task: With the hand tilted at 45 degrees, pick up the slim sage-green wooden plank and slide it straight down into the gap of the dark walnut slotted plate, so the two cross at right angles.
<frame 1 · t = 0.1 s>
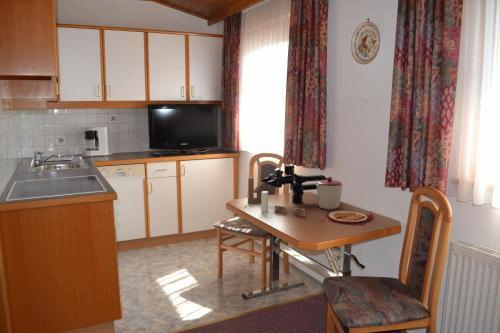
hand: (263, 181, 277), 17 cm above the table, tool horizontal, fingers open, 9 cm apart
plate with food: (347, 220, 245), on the table
sage plank: (264, 211, 263), on the table
canister: (328, 208, 272), on the table
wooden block: (255, 202, 288), on the table
walnut slotted plate: (289, 214, 255), on the table
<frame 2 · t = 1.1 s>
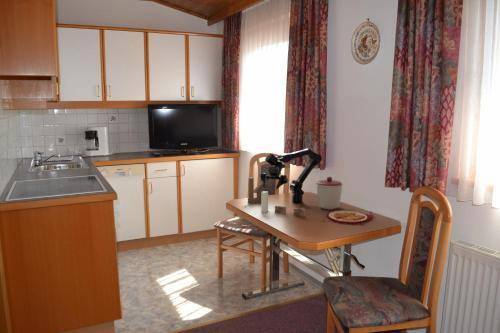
hand: (270, 188, 268), 14 cm above the table, tool tilted 45°, fingers open, 9 cm apart
nothing on the table moved.
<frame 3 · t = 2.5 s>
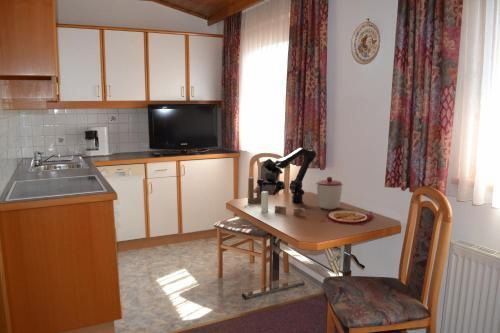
hand: (267, 194, 265), 10 cm above the table, tool tilted 45°, fingers open, 9 cm apart
nothing on the table moved.
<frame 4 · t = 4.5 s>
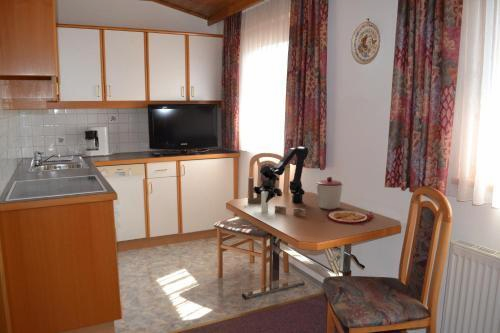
hand: (263, 202, 261), 7 cm above the table, tool tilted 45°, fingers closed on sage plank, 3 cm apart
sage plank: (264, 211, 263), on the table, touching gripper
everything else where it was.
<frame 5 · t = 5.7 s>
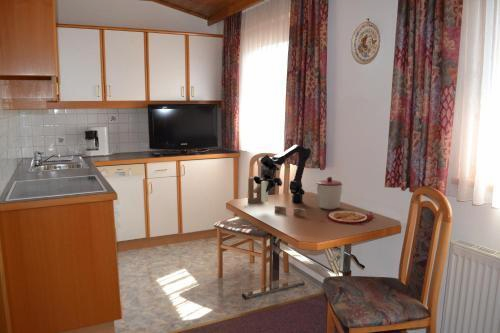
hand: (263, 191, 260), 13 cm above the table, tool tilted 45°, fingers closed on sage plank, 3 cm apart
sage plank: (264, 201, 262), point 7 cm above the table, touching gripper
everything else where it was.
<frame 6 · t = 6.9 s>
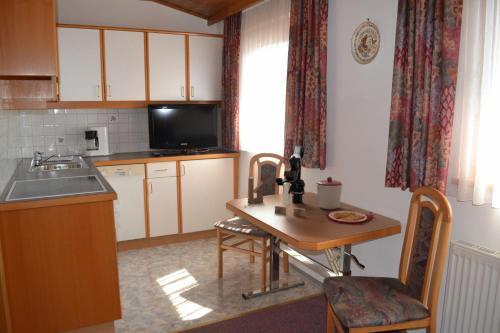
hand: (286, 193, 253), 14 cm above the table, tool tilted 45°, fingers closed on sage plank, 3 cm apart
sage plank: (286, 203, 255), point 7 cm above the table, touching gripper
everything else where it was.
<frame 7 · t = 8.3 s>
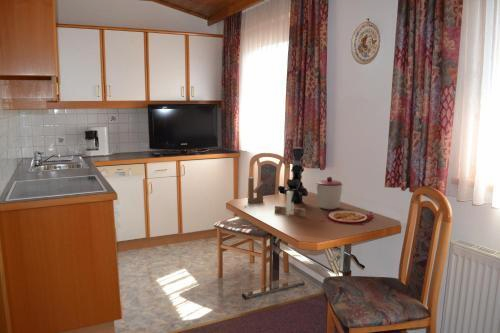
hand: (289, 201, 253), 8 cm above the table, tool tilted 45°, fingers closed on sage plank, 3 cm apart
sage plank: (289, 211, 255), point 2 cm above the table, touching gripper
everything else where it was.
when the fingers open (8 cm above the table, at t = 8.6 s): sage plank drops 1 cm, on the table.
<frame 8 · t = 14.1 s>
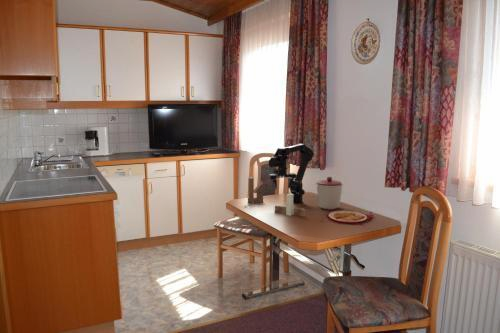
hand: (282, 188, 275), 12 cm above the table, tool pointing down, fingers open, 9 cm apart
sage plank: (289, 214, 255), on the table
everything else where it was.
at the end: sage plank 0.0 cm off-centre on the walnut slotted plate, point 0.0 cm above the walnut slotted plate's base; sage plank tilted 0°; the gripper is holding nothing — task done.
